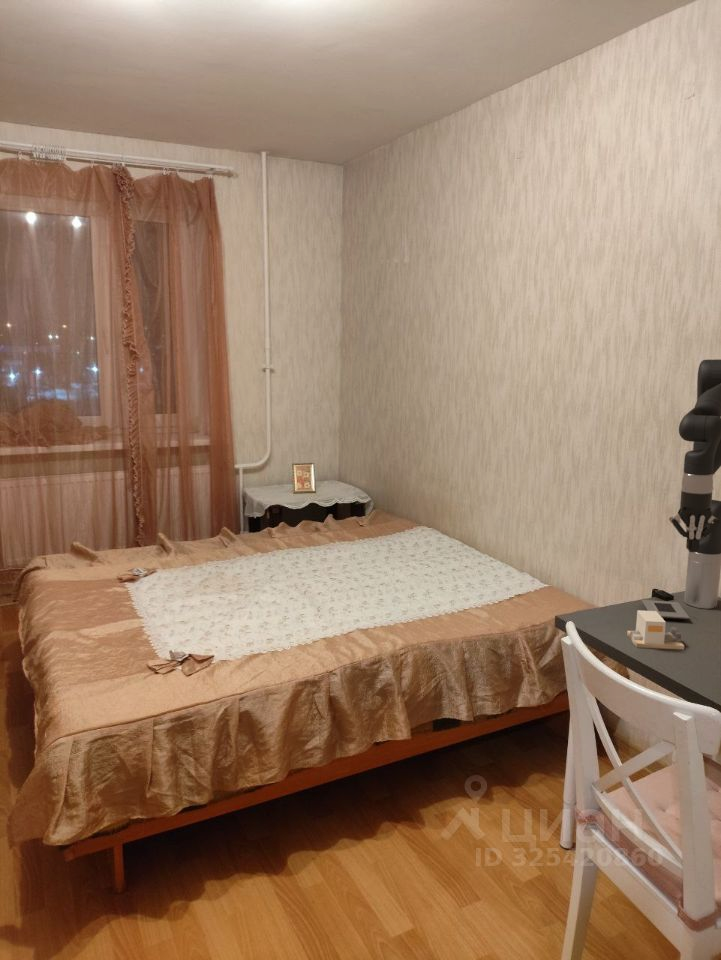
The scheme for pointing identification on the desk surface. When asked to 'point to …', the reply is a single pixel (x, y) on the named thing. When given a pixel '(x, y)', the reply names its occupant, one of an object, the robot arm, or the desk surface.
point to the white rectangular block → (651, 627)
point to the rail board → (670, 642)
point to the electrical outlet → (666, 609)
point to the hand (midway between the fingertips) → (692, 551)
